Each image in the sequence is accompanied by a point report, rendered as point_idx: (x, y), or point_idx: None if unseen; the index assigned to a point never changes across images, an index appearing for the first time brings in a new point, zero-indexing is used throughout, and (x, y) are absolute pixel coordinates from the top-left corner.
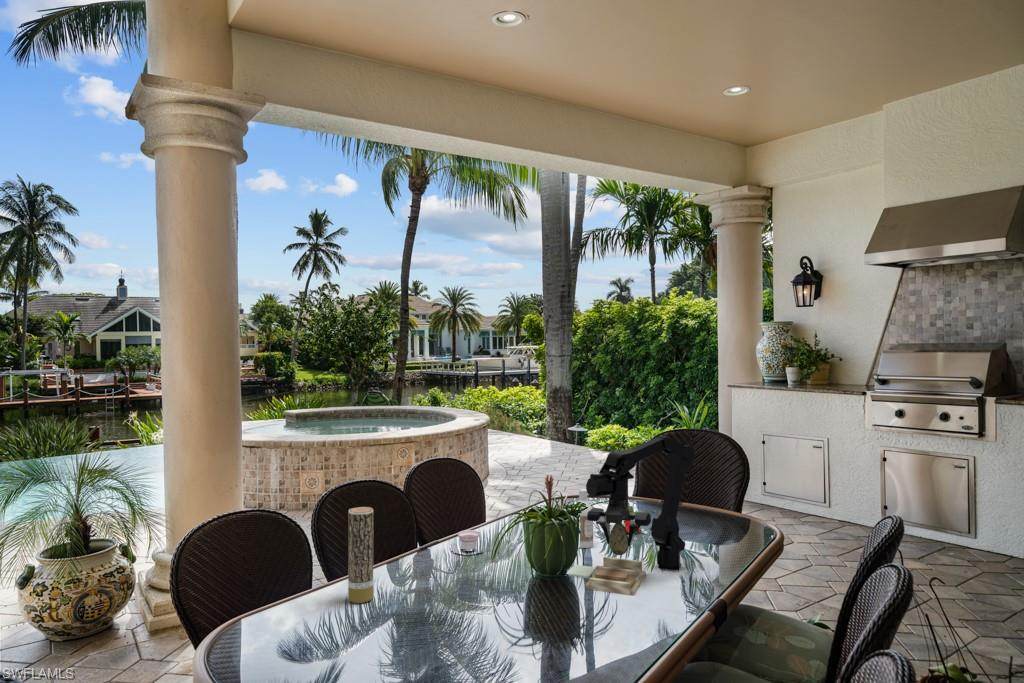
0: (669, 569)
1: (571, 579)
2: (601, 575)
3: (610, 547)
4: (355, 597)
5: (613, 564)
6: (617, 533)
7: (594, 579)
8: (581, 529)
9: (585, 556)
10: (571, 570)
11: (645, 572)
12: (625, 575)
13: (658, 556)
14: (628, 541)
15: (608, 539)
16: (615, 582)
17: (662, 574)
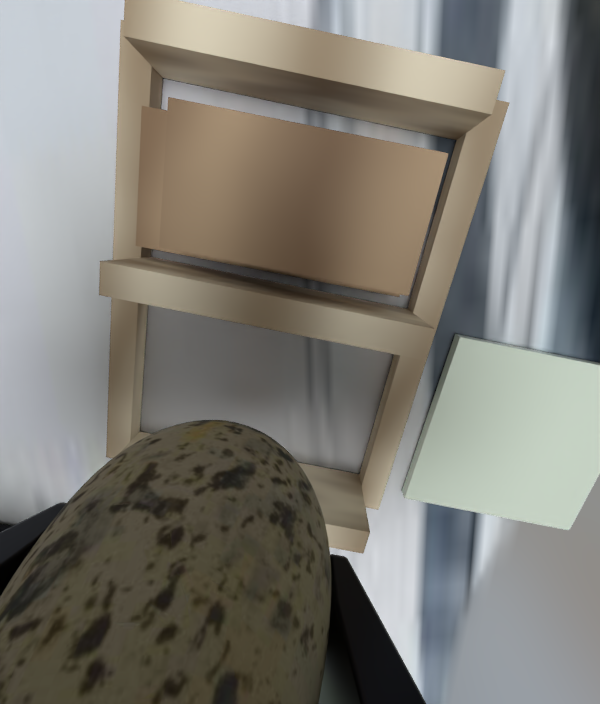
0: (6, 526)
1: (574, 294)
2: (388, 143)
3: (311, 485)
4: None
5: None
6: (106, 682)
7: (452, 59)
8: None
9: (452, 655)
10: (567, 425)
11: (107, 442)
12: (176, 172)
13: None
14: (18, 546)
15: (343, 605)
16: (258, 19)
17: (33, 463)
